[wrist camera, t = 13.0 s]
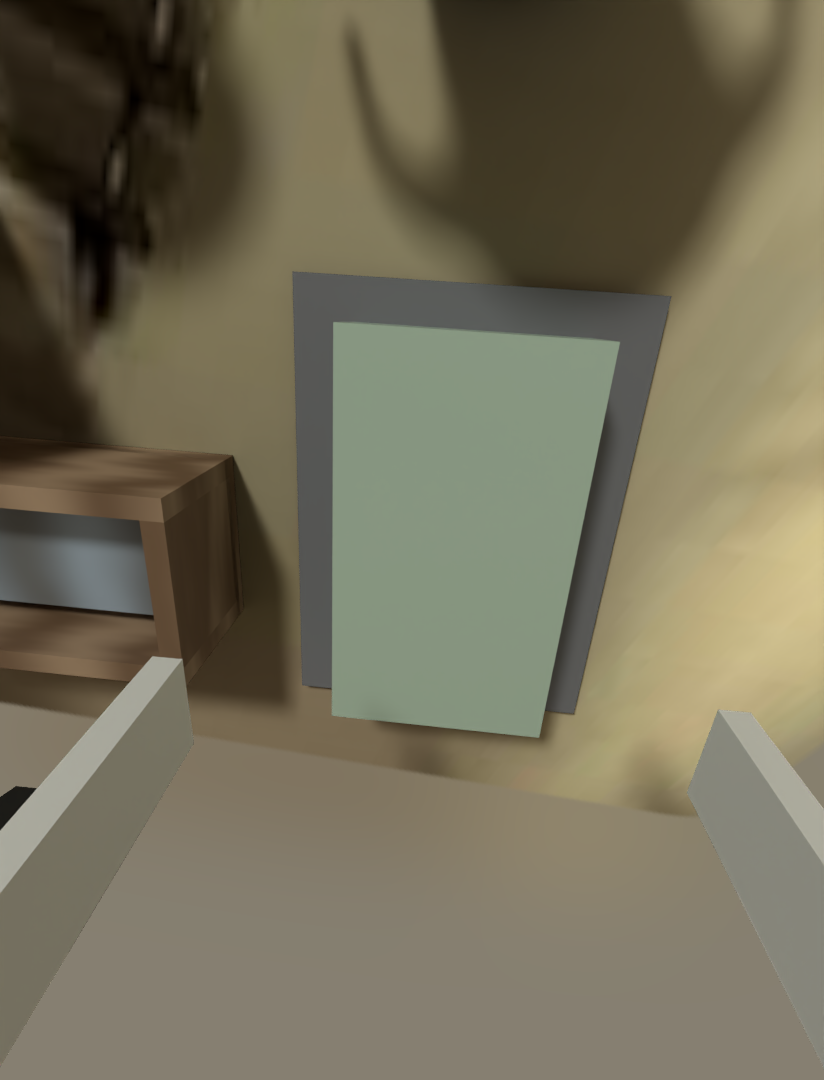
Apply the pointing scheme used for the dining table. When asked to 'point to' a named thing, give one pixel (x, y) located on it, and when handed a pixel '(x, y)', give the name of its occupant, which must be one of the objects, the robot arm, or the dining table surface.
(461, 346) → the sage green rectangular block
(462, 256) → the dining table surface
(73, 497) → the storage box
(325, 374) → the mat
